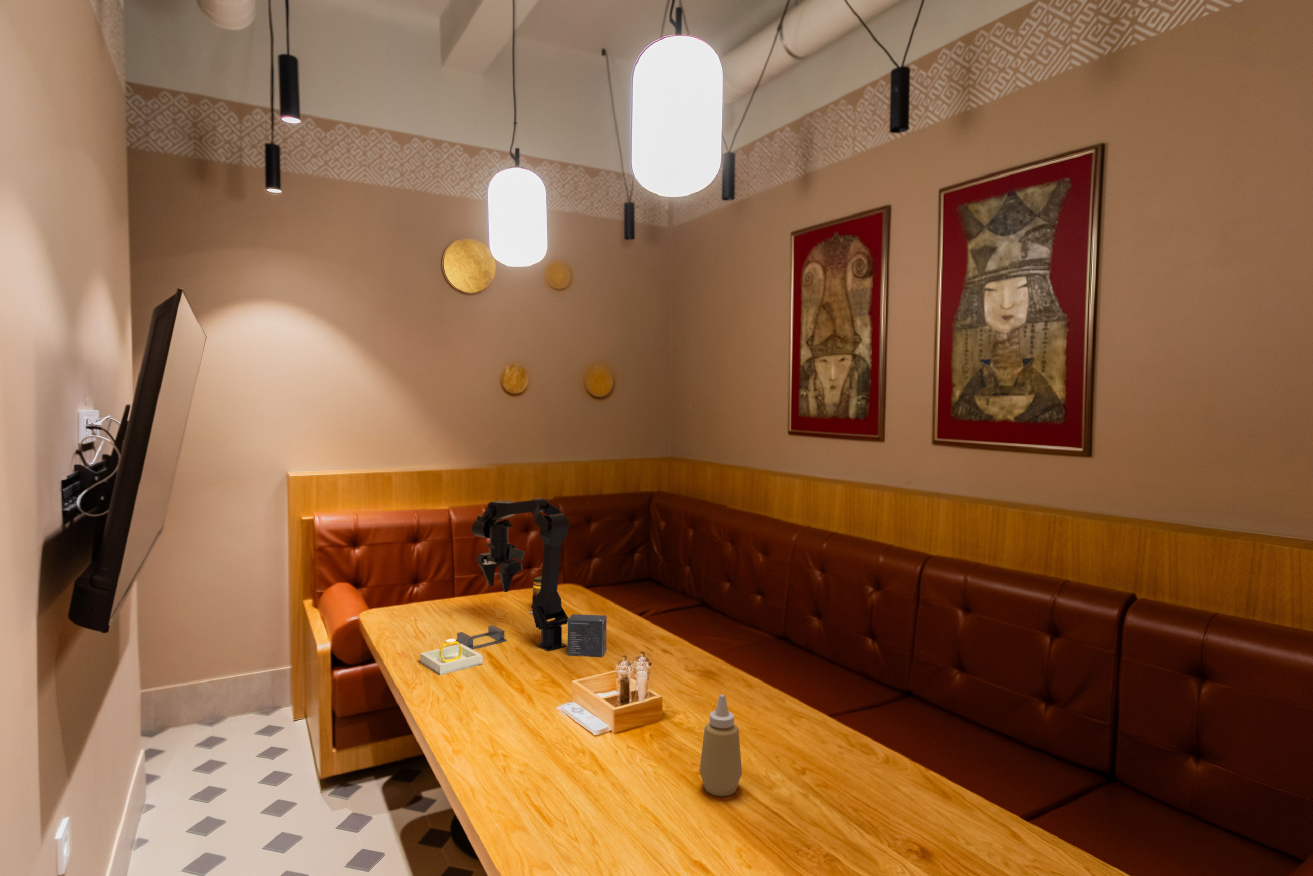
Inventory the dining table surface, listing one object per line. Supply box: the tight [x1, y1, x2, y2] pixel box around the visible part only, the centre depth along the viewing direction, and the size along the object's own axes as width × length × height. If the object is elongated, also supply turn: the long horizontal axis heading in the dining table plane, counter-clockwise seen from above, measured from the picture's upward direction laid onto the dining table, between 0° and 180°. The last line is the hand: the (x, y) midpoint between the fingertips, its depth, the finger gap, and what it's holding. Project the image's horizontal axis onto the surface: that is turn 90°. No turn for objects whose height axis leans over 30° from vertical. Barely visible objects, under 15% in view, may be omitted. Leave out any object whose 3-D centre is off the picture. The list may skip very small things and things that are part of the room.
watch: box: [439, 638, 462, 662], centre depth 199 cm, size 6×3×6 cm, turn 121°
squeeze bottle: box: [699, 694, 743, 797], centre depth 136 cm, size 8×8×18 cm
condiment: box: [528, 575, 542, 615], centre depth 250 cm, size 7×8×12 cm
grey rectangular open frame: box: [455, 624, 507, 650], centre depth 217 cm, size 9×12×3 cm
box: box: [566, 613, 608, 658], centre depth 209 cm, size 11×7×10 cm, turn 84°
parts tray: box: [419, 644, 483, 676], centre depth 199 cm, size 12×12×2 cm
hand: (498, 589), depth 229 cm, fingers open, 9 cm apart
